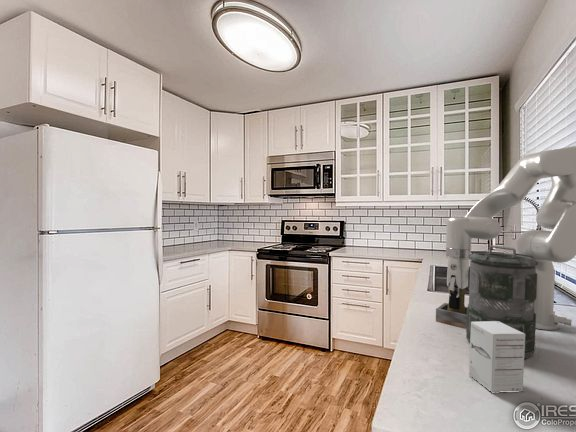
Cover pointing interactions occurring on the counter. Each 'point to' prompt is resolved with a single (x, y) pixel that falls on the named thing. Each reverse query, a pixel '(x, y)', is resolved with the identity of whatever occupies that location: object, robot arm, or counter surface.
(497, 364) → the supplement box
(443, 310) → the grey square tray
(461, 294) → the olive tall flared cylinder
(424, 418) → the counter surface
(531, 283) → the canister
